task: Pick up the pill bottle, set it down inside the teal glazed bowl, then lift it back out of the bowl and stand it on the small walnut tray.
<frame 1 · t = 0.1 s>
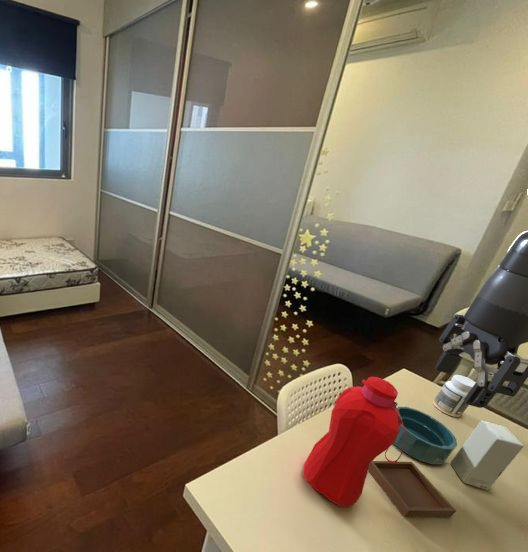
hand: (456, 386, 53), 25 cm above the table, tool pointing down, fingers open, 8 cm apart
water bottle: (332, 485, 62), on the table
tray: (405, 491, 63), on the table
pill bottle: (445, 409, 85), on the table
box: (466, 476, 67), on the table
bowl: (412, 443, 74), on the table
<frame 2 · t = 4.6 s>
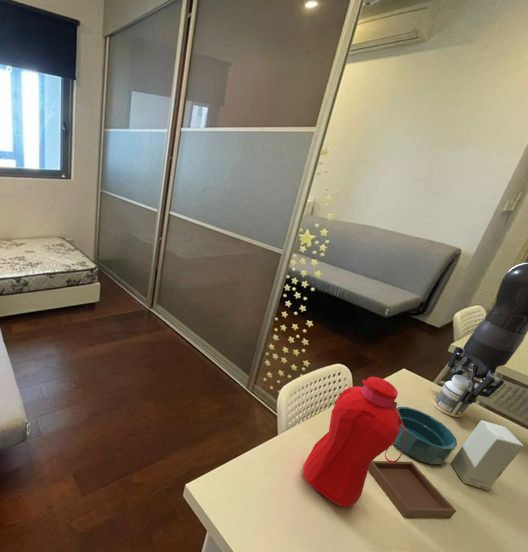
hand: (456, 393, 83), 6 cm above the table, tool pointing down, fingers closed on pill bottle, 5 cm apart
pill bottle: (445, 409, 85), on the table, touching gripper
everything else where it was.
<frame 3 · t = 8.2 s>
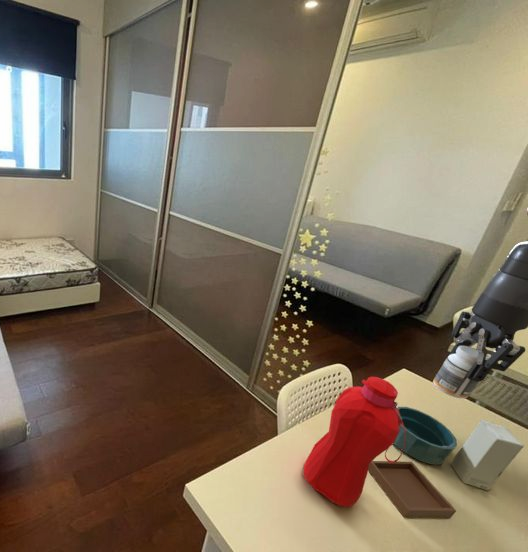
hand: (463, 369, 66), 21 cm above the table, tool pointing down, fingers closed on pill bottle, 5 cm apart
pill bottle: (448, 390, 68), point 15 cm above the table, touching gripper
everything else where it was.
when the fingers open (6 cm above the table, at t = 12.1 s): pill bottle stays where it is, resting on bowl.
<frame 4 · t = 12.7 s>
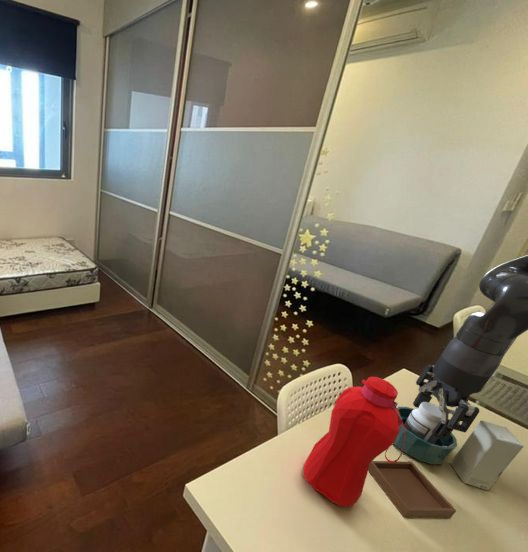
hand: (427, 420, 71), 7 cm above the table, tool pointing down, fingers open, 8 cm apart
pill bottle: (412, 442, 73), resting on bowl
everything else where it was.
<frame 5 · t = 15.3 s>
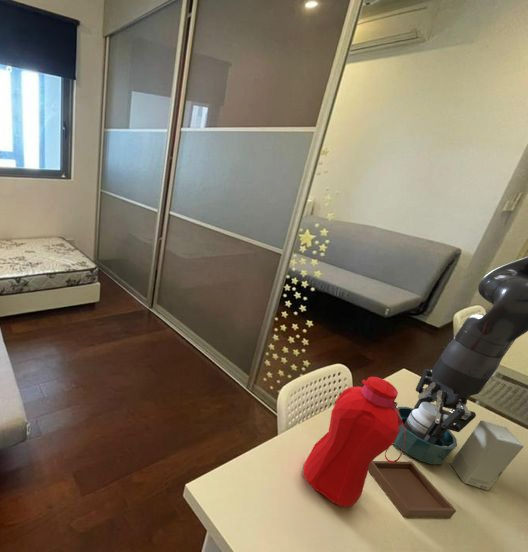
hand: (425, 424, 71), 6 cm above the table, tool pointing down, fingers closed on pill bottle, 5 cm apart
pill bottle: (412, 442, 73), resting on bowl, touching gripper
everything else where it was.
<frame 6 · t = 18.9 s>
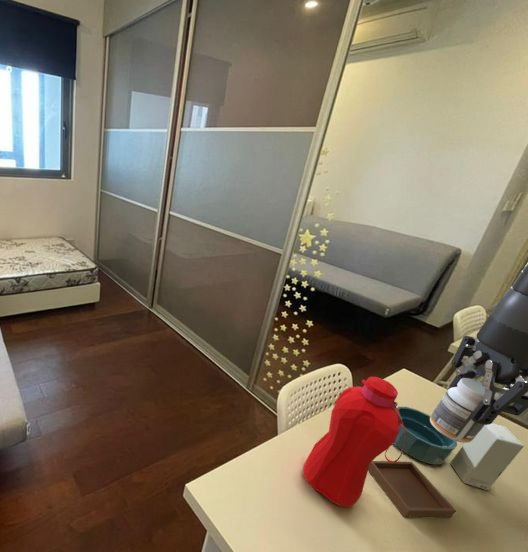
hand: (465, 407, 54), 22 cm above the table, tool pointing down, fingers closed on pill bottle, 5 cm apart
pill bottle: (448, 431, 56), point 16 cm above the table, touching gripper
everything else where it was.
when the fingers open (6 cm above the table, at t = 22.9 s): pill bottle stays where it is, resting on tray.
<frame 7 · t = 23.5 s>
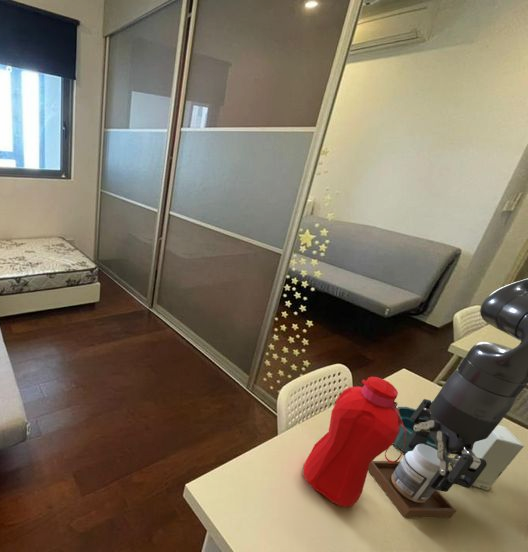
hand: (423, 466, 60), 7 cm above the table, tool pointing down, fingers open, 8 cm apart
pill bottle: (406, 489, 62), resting on tray
everything else where it was.
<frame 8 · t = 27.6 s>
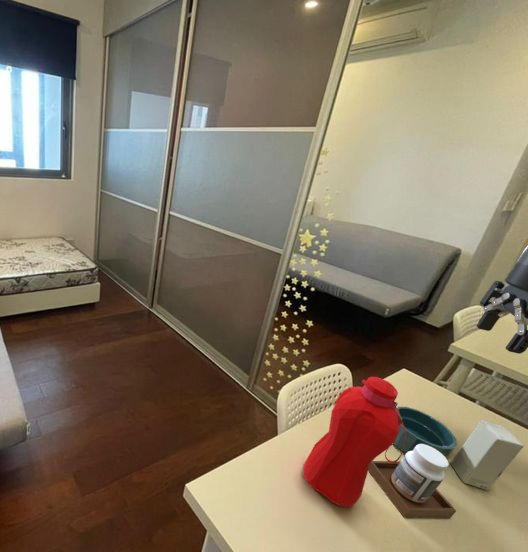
hand: (496, 339, 65), 28 cm above the table, tool pointing down, fingers open, 8 cm apart
nothing on the table moved.
at the end: pill bottle 0.0 cm off-centre in the tray, point 0.4 cm above the tray's base; pill bottle tilted 0°; the gripper is holding nothing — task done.
